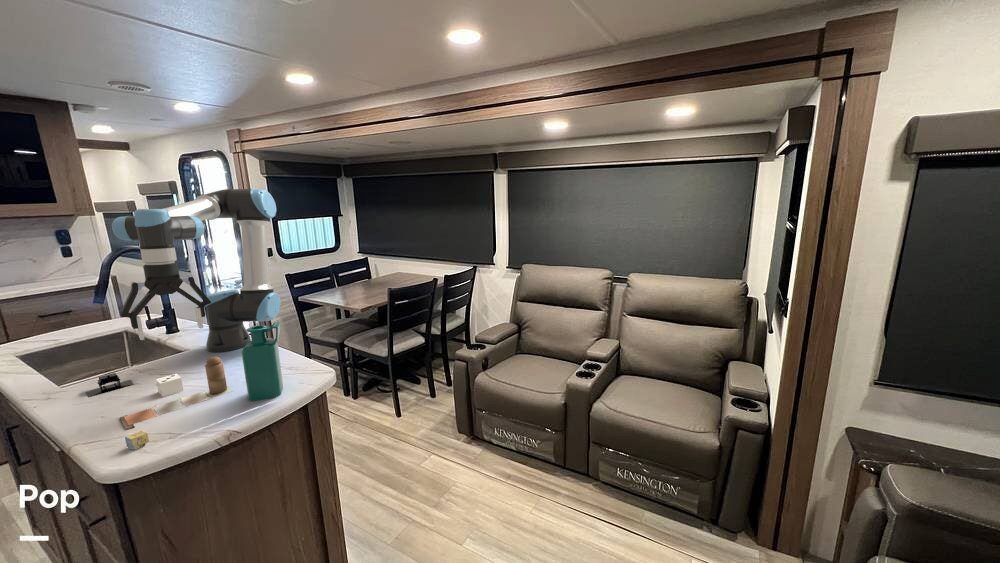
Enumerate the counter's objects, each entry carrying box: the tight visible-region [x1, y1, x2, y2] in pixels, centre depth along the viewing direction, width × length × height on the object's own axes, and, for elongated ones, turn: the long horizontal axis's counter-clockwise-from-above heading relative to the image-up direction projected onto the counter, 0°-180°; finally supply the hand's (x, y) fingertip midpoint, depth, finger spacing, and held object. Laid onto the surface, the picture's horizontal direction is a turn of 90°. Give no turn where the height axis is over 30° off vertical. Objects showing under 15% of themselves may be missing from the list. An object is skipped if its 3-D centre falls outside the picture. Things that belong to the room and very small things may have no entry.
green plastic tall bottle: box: [241, 321, 284, 402], centre depth 113 cm, size 10×8×22 cm
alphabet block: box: [124, 430, 150, 451], centre depth 91 cm, size 3×3×3 cm
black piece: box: [84, 372, 135, 398], centre depth 121 cm, size 13×8×5 cm, turn 144°
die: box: [155, 373, 184, 398], centre depth 117 cm, size 5×5×5 cm
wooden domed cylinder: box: [204, 356, 228, 394], centre depth 116 cm, size 4×4×11 cm
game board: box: [119, 385, 234, 431], centre depth 110 cm, size 25×9×1 cm, turn 142°
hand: (172, 333), depth 113 cm, fingers open, 13 cm apart
